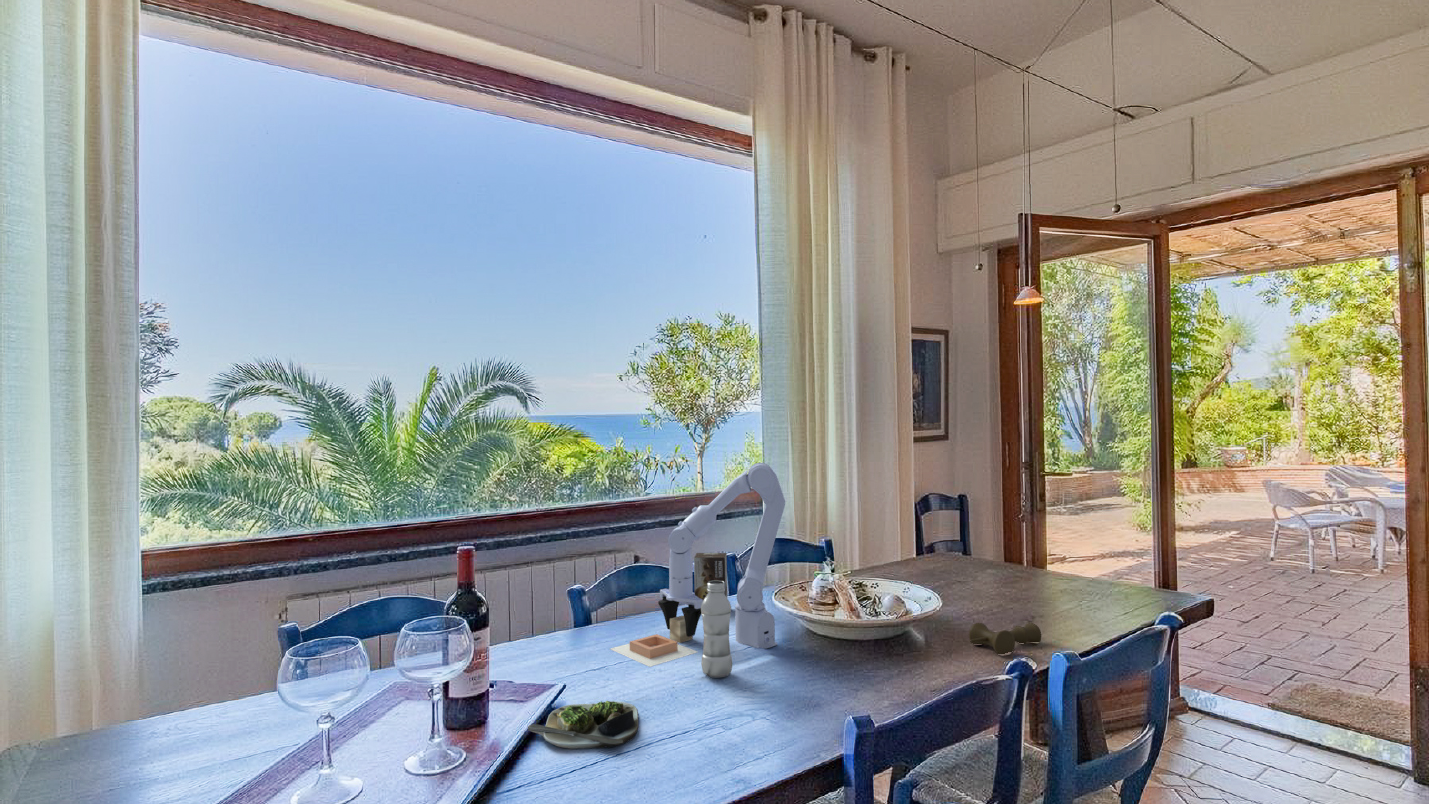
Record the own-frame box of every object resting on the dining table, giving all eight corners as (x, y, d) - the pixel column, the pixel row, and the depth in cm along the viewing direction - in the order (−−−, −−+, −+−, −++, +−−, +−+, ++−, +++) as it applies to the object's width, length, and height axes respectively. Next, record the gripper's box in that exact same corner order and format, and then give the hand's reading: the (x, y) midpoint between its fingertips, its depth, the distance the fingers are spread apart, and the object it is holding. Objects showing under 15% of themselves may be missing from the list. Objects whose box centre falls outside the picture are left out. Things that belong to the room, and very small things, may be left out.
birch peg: (692, 643, 171) (692, 618, 171) (680, 647, 168) (679, 622, 168) (682, 639, 174) (682, 615, 174) (669, 643, 171) (669, 618, 171)
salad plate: (519, 760, 114) (519, 731, 114) (536, 713, 132) (536, 689, 132) (637, 753, 116) (637, 725, 116) (639, 708, 134) (638, 684, 134)
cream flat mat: (698, 656, 162) (698, 651, 162) (649, 671, 152) (649, 666, 152) (656, 639, 173) (656, 635, 174) (609, 652, 164) (609, 648, 164)
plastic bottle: (729, 682, 145) (728, 586, 146) (698, 680, 147) (697, 585, 147) (735, 671, 152) (734, 579, 152) (704, 669, 153) (704, 578, 153)
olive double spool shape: (1051, 651, 165) (985, 660, 158) (1019, 640, 174) (955, 648, 167) (1050, 625, 165) (984, 633, 158) (1019, 616, 174) (955, 623, 167)
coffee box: (728, 608, 202) (727, 552, 202) (726, 614, 195) (725, 556, 196) (696, 607, 203) (696, 552, 203) (694, 613, 196) (693, 556, 196)
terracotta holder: (677, 650, 163) (677, 641, 163) (649, 658, 157) (649, 649, 157) (656, 642, 169) (656, 634, 169) (629, 650, 163) (629, 641, 163)
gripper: (650, 574, 174) (650, 628, 174) (687, 584, 163) (687, 642, 163) (672, 569, 179) (672, 622, 179) (709, 579, 168) (709, 636, 168)
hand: (680, 632), depth 171 cm, fingers open, 7 cm apart
